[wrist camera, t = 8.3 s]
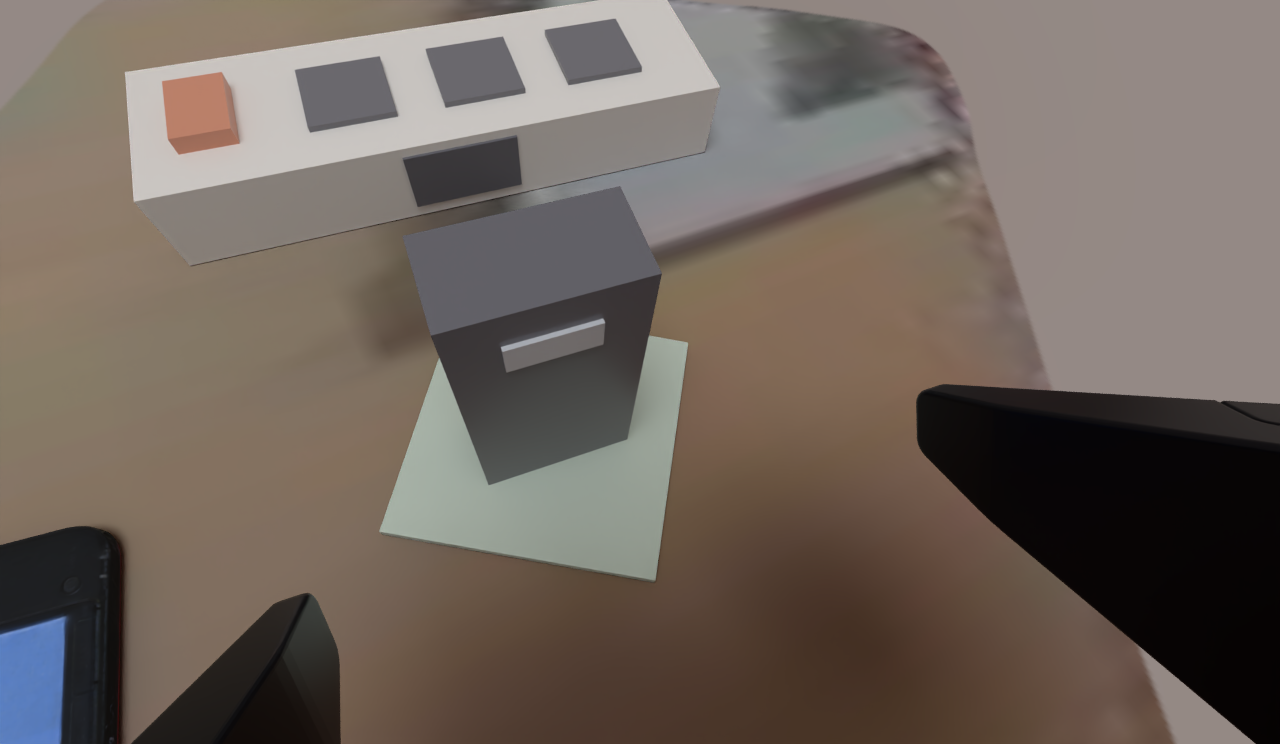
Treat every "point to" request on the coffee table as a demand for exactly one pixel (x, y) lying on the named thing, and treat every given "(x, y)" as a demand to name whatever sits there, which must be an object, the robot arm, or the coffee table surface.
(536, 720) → the coffee table surface
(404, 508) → the felt coaster
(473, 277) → the brick
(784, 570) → the coffee table surface
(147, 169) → the power strip
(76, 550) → the handheld game console
